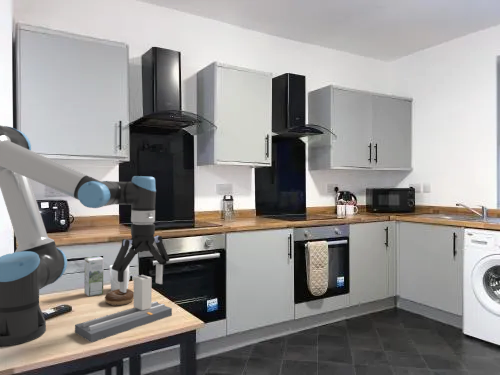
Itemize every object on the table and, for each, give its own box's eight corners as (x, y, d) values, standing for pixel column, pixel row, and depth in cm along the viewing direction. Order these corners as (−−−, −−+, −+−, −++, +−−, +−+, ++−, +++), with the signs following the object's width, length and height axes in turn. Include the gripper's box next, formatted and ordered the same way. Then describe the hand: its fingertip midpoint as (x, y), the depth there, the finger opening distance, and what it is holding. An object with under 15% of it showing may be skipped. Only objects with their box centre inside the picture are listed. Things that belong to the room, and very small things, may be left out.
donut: (124, 295, 146) (124, 285, 146) (140, 301, 140) (140, 290, 140) (99, 302, 138) (99, 292, 138) (115, 308, 131) (115, 297, 131)
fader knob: (133, 309, 122) (133, 276, 122) (142, 307, 125) (142, 274, 125) (142, 313, 119) (142, 278, 119) (151, 310, 122) (151, 276, 121)
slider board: (74, 332, 110) (74, 321, 110) (154, 308, 131) (154, 299, 131) (91, 342, 104) (91, 330, 104) (171, 315, 125) (171, 305, 125)
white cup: (123, 292, 149) (123, 268, 149) (105, 291, 151) (105, 267, 151) (133, 287, 157) (133, 263, 157) (116, 286, 159) (116, 262, 158)
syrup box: (99, 290, 152) (99, 255, 151) (103, 294, 147) (103, 258, 147) (84, 293, 148) (84, 257, 148) (88, 297, 143) (88, 259, 143)
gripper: (113, 227, 110) (112, 298, 110) (180, 221, 129) (179, 282, 129) (101, 224, 114) (99, 292, 115) (167, 219, 133) (165, 278, 134)
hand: (141, 287), depth 122 cm, fingers open, 13 cm apart
